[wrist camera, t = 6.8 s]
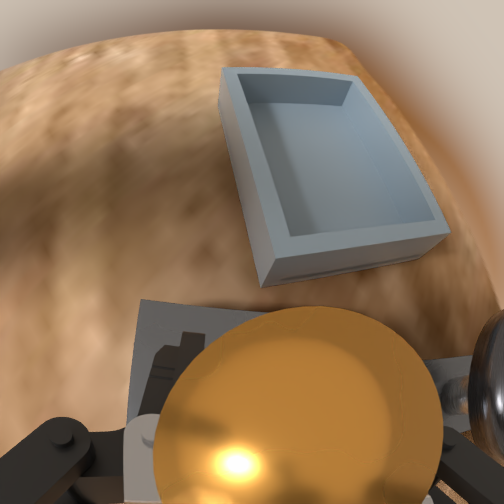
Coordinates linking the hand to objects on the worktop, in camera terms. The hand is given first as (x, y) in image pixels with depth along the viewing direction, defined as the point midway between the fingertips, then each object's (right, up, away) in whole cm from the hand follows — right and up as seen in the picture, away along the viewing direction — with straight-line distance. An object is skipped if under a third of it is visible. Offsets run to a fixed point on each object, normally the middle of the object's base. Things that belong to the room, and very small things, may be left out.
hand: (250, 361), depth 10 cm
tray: (+5, +9, +13) cm, 16 cm away
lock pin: (-1, -5, +5) cm, 7 cm away
